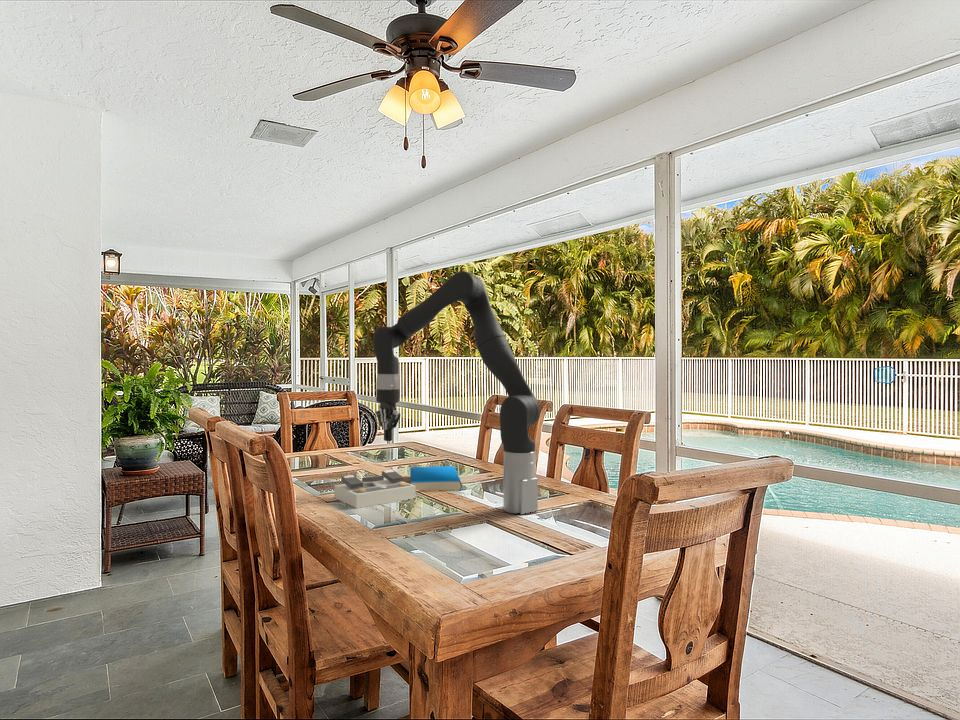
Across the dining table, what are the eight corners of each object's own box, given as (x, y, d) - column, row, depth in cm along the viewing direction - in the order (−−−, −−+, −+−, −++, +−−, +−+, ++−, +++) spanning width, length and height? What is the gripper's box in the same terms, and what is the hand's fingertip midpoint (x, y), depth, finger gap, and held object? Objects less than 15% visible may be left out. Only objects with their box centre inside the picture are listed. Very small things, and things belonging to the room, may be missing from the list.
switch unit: (415, 498, 186) (415, 484, 186) (356, 508, 174) (356, 493, 174) (390, 489, 199) (390, 476, 199) (334, 497, 187) (334, 483, 187)
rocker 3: (402, 481, 191) (403, 476, 190) (391, 483, 188) (392, 478, 188) (392, 473, 196) (392, 469, 196) (381, 475, 194) (382, 470, 194)
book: (410, 481, 196) (409, 466, 221) (410, 494, 196) (409, 477, 221) (462, 479, 198) (455, 465, 223) (462, 492, 198) (455, 476, 223)
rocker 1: (362, 487, 182) (363, 482, 182) (350, 488, 180) (351, 484, 180) (353, 479, 188) (353, 474, 188) (341, 480, 185) (341, 476, 185)
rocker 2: (383, 480, 186) (383, 475, 187) (372, 481, 184) (371, 476, 184) (373, 480, 192) (373, 475, 192) (362, 482, 189) (361, 477, 190)
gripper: (408, 388, 191) (408, 442, 191) (388, 386, 202) (388, 437, 202) (387, 389, 187) (387, 444, 187) (368, 387, 197) (368, 439, 198)
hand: (387, 440), depth 194 cm, fingers closed
